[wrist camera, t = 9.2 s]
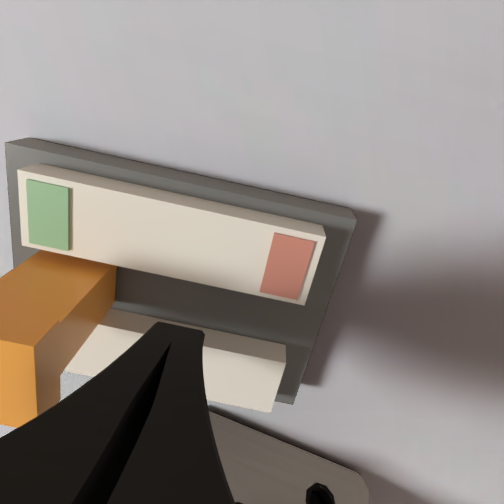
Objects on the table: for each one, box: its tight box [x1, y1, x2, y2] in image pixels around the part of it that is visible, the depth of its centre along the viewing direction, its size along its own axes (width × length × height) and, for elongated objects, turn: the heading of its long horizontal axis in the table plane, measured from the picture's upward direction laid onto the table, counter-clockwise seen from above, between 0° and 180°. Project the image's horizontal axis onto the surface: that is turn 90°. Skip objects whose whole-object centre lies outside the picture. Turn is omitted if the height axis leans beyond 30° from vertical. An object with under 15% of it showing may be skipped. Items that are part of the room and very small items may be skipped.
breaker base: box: [5, 138, 357, 413], centre depth 13 cm, size 8×11×2 cm
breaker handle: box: [0, 250, 117, 428], centre depth 11 cm, size 3×3×5 cm
